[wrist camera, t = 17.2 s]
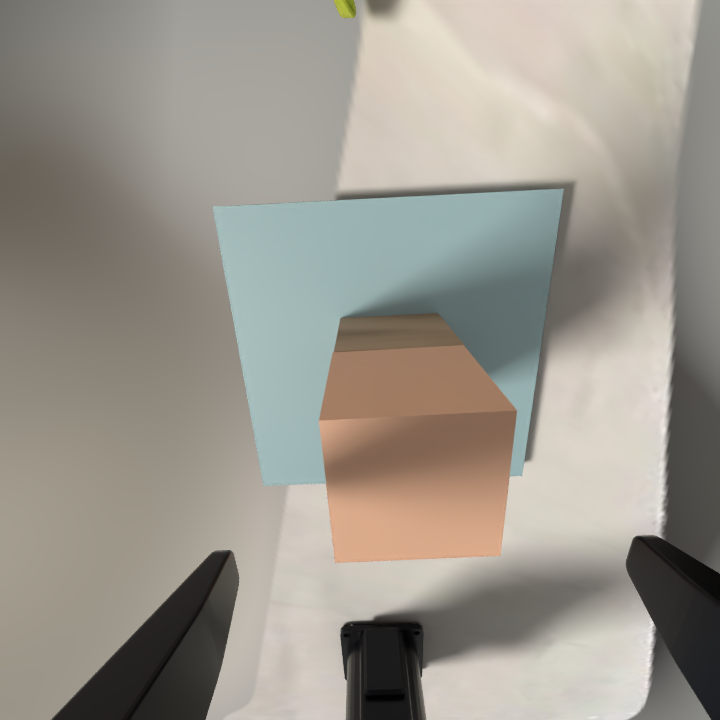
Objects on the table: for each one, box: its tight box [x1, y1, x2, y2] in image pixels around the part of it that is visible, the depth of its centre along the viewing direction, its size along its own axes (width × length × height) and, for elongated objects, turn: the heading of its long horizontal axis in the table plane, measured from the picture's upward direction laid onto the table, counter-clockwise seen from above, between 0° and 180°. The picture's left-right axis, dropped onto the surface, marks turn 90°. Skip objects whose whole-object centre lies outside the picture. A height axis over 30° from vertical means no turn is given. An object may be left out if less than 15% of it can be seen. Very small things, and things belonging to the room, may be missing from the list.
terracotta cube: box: [319, 345, 517, 563], centre depth 12 cm, size 5×5×5 cm
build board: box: [213, 189, 564, 486], centre depth 20 cm, size 16×16×1 cm
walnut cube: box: [334, 313, 465, 352], centre depth 17 cm, size 5×5×5 cm
